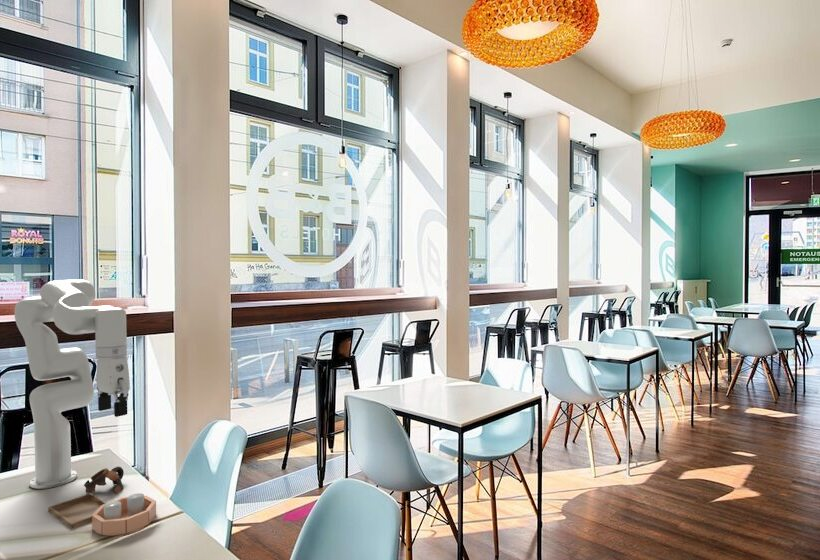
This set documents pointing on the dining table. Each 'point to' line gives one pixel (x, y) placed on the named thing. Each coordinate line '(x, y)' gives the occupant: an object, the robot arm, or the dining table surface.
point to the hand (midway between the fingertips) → (112, 412)
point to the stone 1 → (112, 510)
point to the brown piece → (101, 476)
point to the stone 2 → (135, 504)
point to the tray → (77, 510)
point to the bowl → (124, 519)
